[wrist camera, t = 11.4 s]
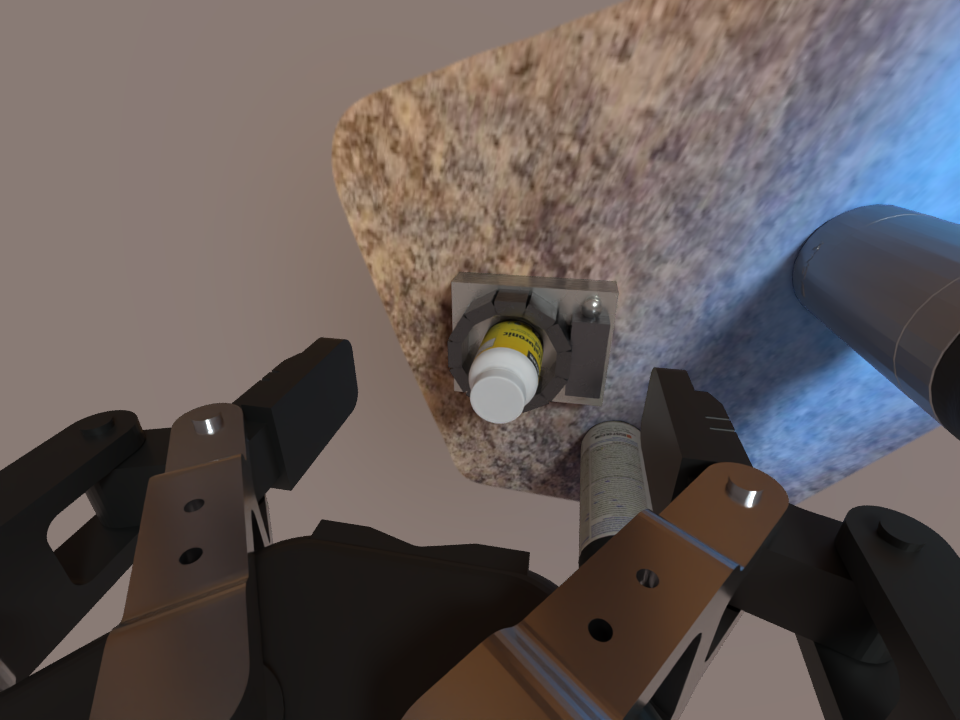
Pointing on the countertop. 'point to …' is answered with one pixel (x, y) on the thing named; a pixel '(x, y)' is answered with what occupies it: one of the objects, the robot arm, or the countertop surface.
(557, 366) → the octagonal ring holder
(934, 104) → the countertop surface
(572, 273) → the countertop surface
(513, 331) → the supplement bottle
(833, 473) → the countertop surface
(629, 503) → the spray can
